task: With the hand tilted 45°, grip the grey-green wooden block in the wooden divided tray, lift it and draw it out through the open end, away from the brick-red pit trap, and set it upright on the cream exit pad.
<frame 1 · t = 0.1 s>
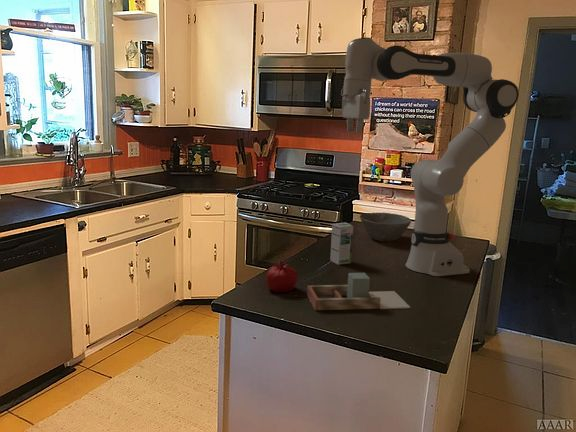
hand: (354, 132, 161), 48 cm above the worktop, tool pointing down, fingers open, 8 cm apart
pomegranate: (281, 289, 150), on the worktop
exit pad: (387, 300, 144), on the worktop
syrup box: (340, 262, 179), on the worktop
grey-green block: (357, 301, 143), on the worktop
pit trap: (325, 301, 141), on the worktop
ceramic bowl: (383, 240, 213), on the worktop
wooden divided tray: (344, 301, 142), on the worktop
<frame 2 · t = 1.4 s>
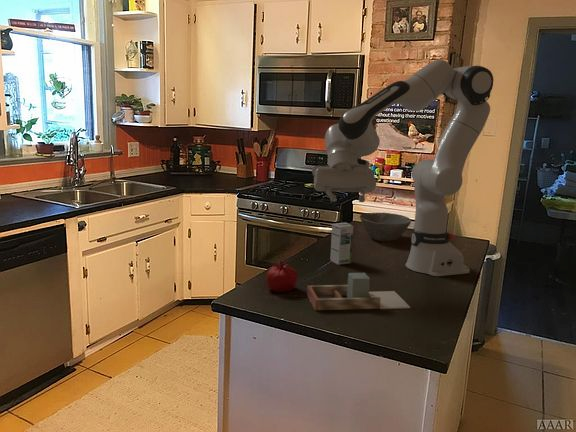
hand: (347, 201, 152), 27 cm above the worktop, tool tilted 45°, fingers open, 8 cm apart
nothing on the worktop moved.
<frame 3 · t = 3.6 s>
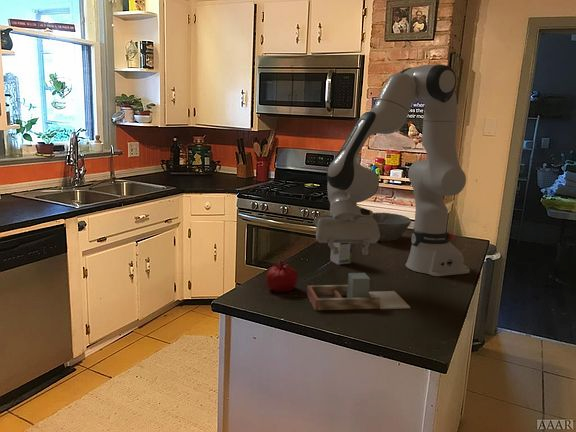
hand: (350, 253, 148), 12 cm above the worktop, tool tilted 45°, fingers open, 8 cm apart
nothing on the worktop moved.
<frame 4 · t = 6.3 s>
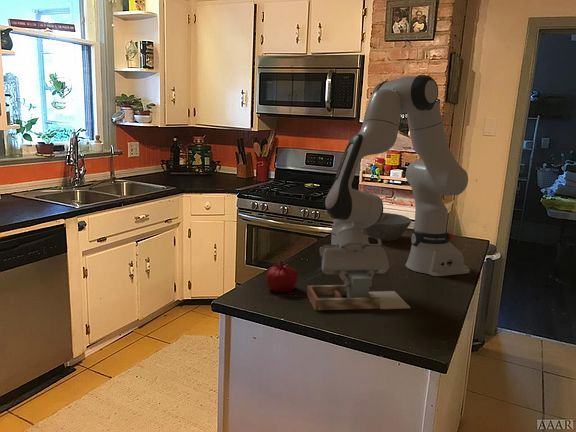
hand: (358, 286, 141), 5 cm above the worktop, tool tilted 45°, fingers closed on grey-green block, 5 cm apart
grey-green block: (357, 301, 143), on the worktop, touching gripper
everything else where it was.
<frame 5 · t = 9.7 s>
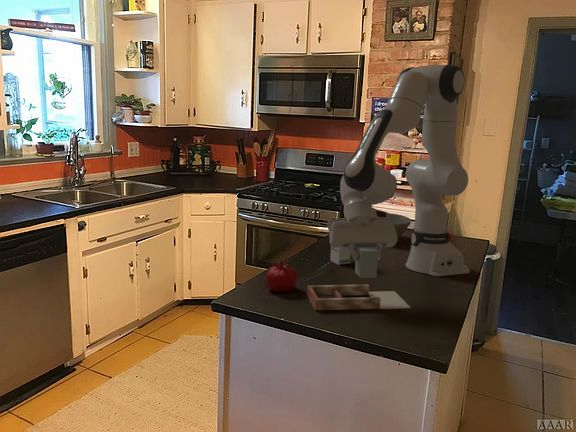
hand: (367, 259, 140), 13 cm above the worktop, tool tilted 45°, fingers closed on grey-green block, 5 cm apart
grey-green block: (365, 274, 141), point 8 cm above the worktop, touching gripper
everything else where it was.
when the fingers open (6 cm above the worktop, at t = 13.3 s): grey-green block stays where it is, resting on exit pad.
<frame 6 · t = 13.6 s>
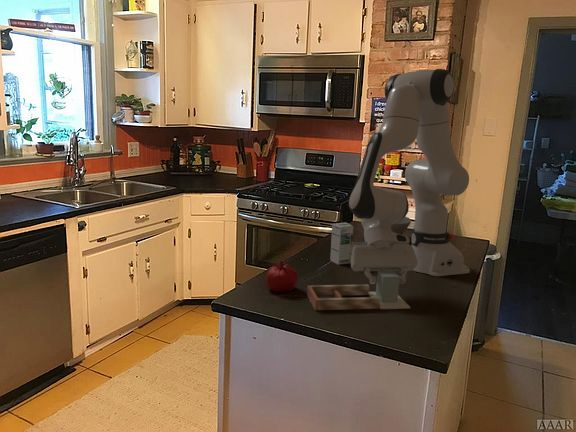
hand: (388, 283, 142), 6 cm above the worktop, tool tilted 45°, fingers open, 8 cm apart
grey-green block: (386, 299, 144), resting on exit pad
everything else where it was.
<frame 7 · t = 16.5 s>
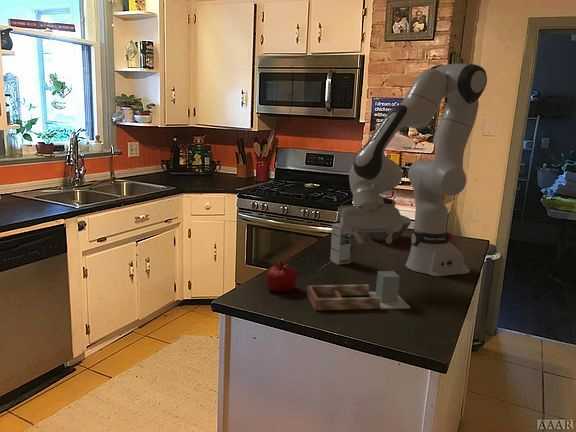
hand: (375, 242, 151), 15 cm above the worktop, tool tilted 45°, fingers open, 8 cm apart
nothing on the worktop moved.
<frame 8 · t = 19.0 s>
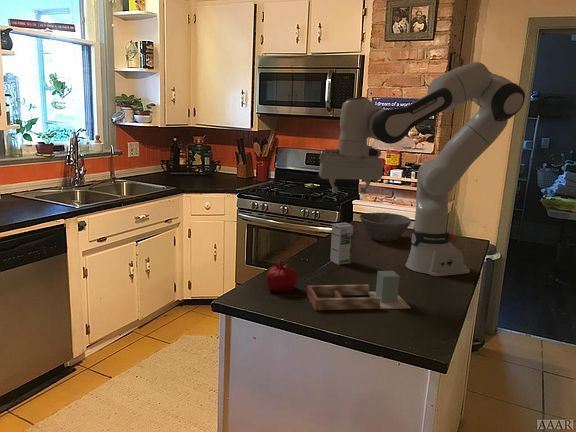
hand: (349, 193, 155), 29 cm above the worktop, tool pointing down, fingers open, 8 cm apart
nothing on the worktop moved.
at the end: grey-green block inside the target area (0.2 cm from its centre), resting on exit pad; grey-green block tilted 0°; the gripper is holding nothing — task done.
